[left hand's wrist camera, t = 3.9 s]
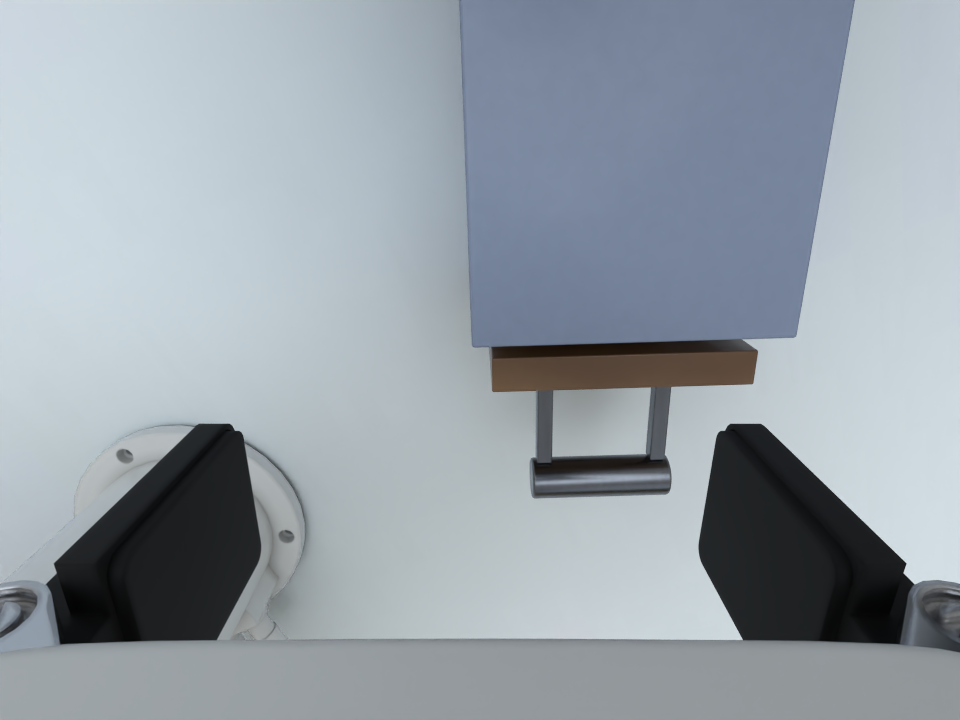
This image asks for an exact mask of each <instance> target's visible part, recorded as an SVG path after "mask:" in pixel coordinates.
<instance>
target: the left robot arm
mask: <svg viewBox="0 0 960 720" xmlns="http://www.w3.org/2000/svg"><path fill="white" fill-rule="evenodd" d="M304 542H305V521H304V517H303V513H302V509H301V505H300V503H299V501H298V499H297V496H296V494H295V492H294V490H293V488H292V487H291V485H290V484H289V483H288V481H287V480H286V478H285V477H284V476H283V474H282V473H281V472H280V471H279V470H278V469H277V468H276V467H275V466H274V465H273V464H272V463H271V462H270V461H269V460H268V459H267V458H266V457H265V456H263V455H262V454H260V453H259V452H257V451H256V450H254V449H253V448H251V447H250V446H249V445H247V444H245V443H244V438H243V435H242V433H241V432H240V431H235V430H234V428H233V426H232V425H230V424H198V425H197V426H195V427H192V426H184V425H175V426H158V427H153V428H149V429H145V430H140V431H137V432H135V433H133V434H131V435H128V436H126V437H124V438H122V439H120V440H119V441H117V442H116V443H114V444H113V445H112V446H110V447H109V448H108V449H106V450H105V451H103V452H102V453H101V454H100V455H99V456H98V457H97V458H96V459H95V460H94V461H93V462H92V463H91V464H90V465H89V466H88V468H87V470H86V471H85V473H84V474H83V476H82V477H81V479H80V482H79V485H78V488H77V491H76V494H75V501H74V519H72V520H71V521H70V522H69V523H68V524H67V525H66V526H65V527H64V528H63V529H61V530H60V531H59V532H58V533H57V534H56V535H55V536H54V537H53V538H51V539H50V540H49V541H48V542H47V543H46V544H45V545H44V546H43V547H42V548H40V549H39V550H38V551H37V552H36V553H35V554H34V555H33V556H32V557H30V558H29V559H28V560H27V561H26V562H25V563H24V564H23V565H22V566H20V567H19V568H18V569H17V570H16V571H15V572H14V573H13V574H12V575H11V576H9V577H8V578H7V579H6V580H5V581H4V582H3V583H2V584H0V720H960V584H958V583H954V582H947V581H940V580H932V581H922V582H920V583H918V584H914V583H913V582H912V581H911V580H910V579H909V578H908V577H907V576H906V575H905V574H903V572H904V569H905V566H906V563H905V562H904V561H903V560H902V559H901V558H900V557H899V556H898V555H897V554H896V553H895V552H894V551H893V550H892V549H891V548H890V547H889V546H888V545H887V544H886V543H885V542H884V541H883V540H882V539H881V538H880V537H879V536H877V535H876V534H875V533H874V532H873V531H872V530H871V529H870V528H869V527H868V526H867V525H866V524H865V523H864V522H863V521H862V520H861V519H860V518H859V517H858V516H857V515H856V514H855V513H854V512H853V511H852V510H851V509H850V508H849V507H847V506H846V505H845V504H844V503H843V502H842V501H841V500H840V499H839V498H838V497H837V496H836V495H835V494H834V493H833V492H832V491H831V490H830V489H829V488H828V487H827V486H826V485H825V484H824V483H823V482H822V481H821V480H820V479H819V478H817V477H816V476H815V475H814V474H813V473H812V472H811V471H810V470H809V469H808V468H807V467H806V466H805V465H804V464H803V463H802V462H801V461H800V460H799V459H798V458H797V457H796V456H795V455H794V454H793V453H792V452H791V451H790V450H789V449H787V448H786V447H785V446H784V445H783V444H782V443H781V442H780V441H779V440H778V439H777V438H776V437H775V436H774V435H773V434H772V433H771V432H770V431H769V430H768V429H767V428H766V427H765V426H763V425H762V424H730V425H728V426H727V428H726V430H725V431H720V432H719V433H718V435H717V438H716V443H715V449H714V455H713V461H712V467H711V473H710V479H709V485H708V491H707V497H706V503H705V509H704V515H703V521H702V527H701V533H700V539H699V556H700V559H701V562H702V564H703V566H704V568H705V570H706V572H707V574H708V576H709V577H710V579H711V581H712V583H713V585H714V587H715V589H716V590H717V592H718V594H719V596H720V598H721V600H722V602H723V603H724V605H725V607H726V609H727V611H728V613H729V615H730V616H731V618H732V620H733V622H734V624H735V626H736V628H737V629H738V631H739V633H740V635H741V637H742V639H743V640H641V639H320V640H288V638H287V636H286V635H285V634H284V633H283V632H282V630H281V629H280V628H279V627H278V625H277V624H276V623H275V622H273V621H272V620H271V619H270V618H269V617H268V615H267V611H268V606H267V605H266V604H267V602H268V601H269V600H271V599H272V598H273V597H274V596H275V595H277V594H278V593H279V592H280V591H281V590H282V589H283V588H284V587H285V586H286V584H287V583H288V581H289V580H290V578H291V577H292V575H293V574H294V572H295V569H296V567H297V565H298V562H299V560H300V558H301V555H302V551H303V546H304ZM246 631H248V632H249V633H250V634H251V635H252V636H253V638H254V640H245V639H244V638H243V637H242V635H241V634H240V633H241V632H246Z"/></svg>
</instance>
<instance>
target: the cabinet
mask: <svg viewBox="0 0 960 720" xmlns="http://www.w3.org/2000/svg"><path fill="white" fill-rule="evenodd" d="M854 1H855V0H459V2H460V29H461V57H462V84H463V112H464V139H465V167H466V194H467V222H468V250H469V277H470V305H471V332H472V346H473V347H502V346H535V345H568V344H601V343H634V342H667V341H699V340H732V339H765V338H794V337H796V335H797V329H798V323H799V317H800V312H801V306H802V300H803V294H804V289H805V283H806V277H807V271H808V266H809V260H810V254H811V248H812V243H813V237H814V231H815V225H816V220H817V214H818V208H819V202H820V197H821V191H822V185H823V179H824V174H825V168H826V162H827V156H828V151H829V145H830V139H831V133H832V128H833V122H834V116H835V110H836V105H837V99H838V93H839V87H840V82H841V76H842V70H843V65H844V59H845V53H846V47H847V42H848V36H849V30H850V24H851V19H852V13H853V7H854Z"/></svg>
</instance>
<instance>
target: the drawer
mask: <svg viewBox="0 0 960 720" xmlns="http://www.w3.org/2000/svg"><path fill="white" fill-rule="evenodd" d="M489 353H490V367H491V381H492V391H493V392H510V391H536V457H535V458H531V460H530V487H531V494H532V497H533V498H566V497H600V496H633V495H666V494H668V493H669V491H670V488H671V469H670V465H669V462H668V459H667V457H666V456H665V446H666V435H667V425H668V415H669V404H670V394H671V387H675V386H709V385H742V384H753V381H754V374H755V368H756V361H757V355H758V350H756V349H755V348H753V347H752V346H750V345H749V344H747V343H746V342H745V341H743V340H742V339H732V340H699V341H667V342H634V343H601V344H568V345H535V346H502V347H489ZM642 387H651V396H650V408H649V420H648V432H647V444H646V454H636V455H602V456H569V457H552V425H553V390H576V389H609V388H642Z"/></svg>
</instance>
